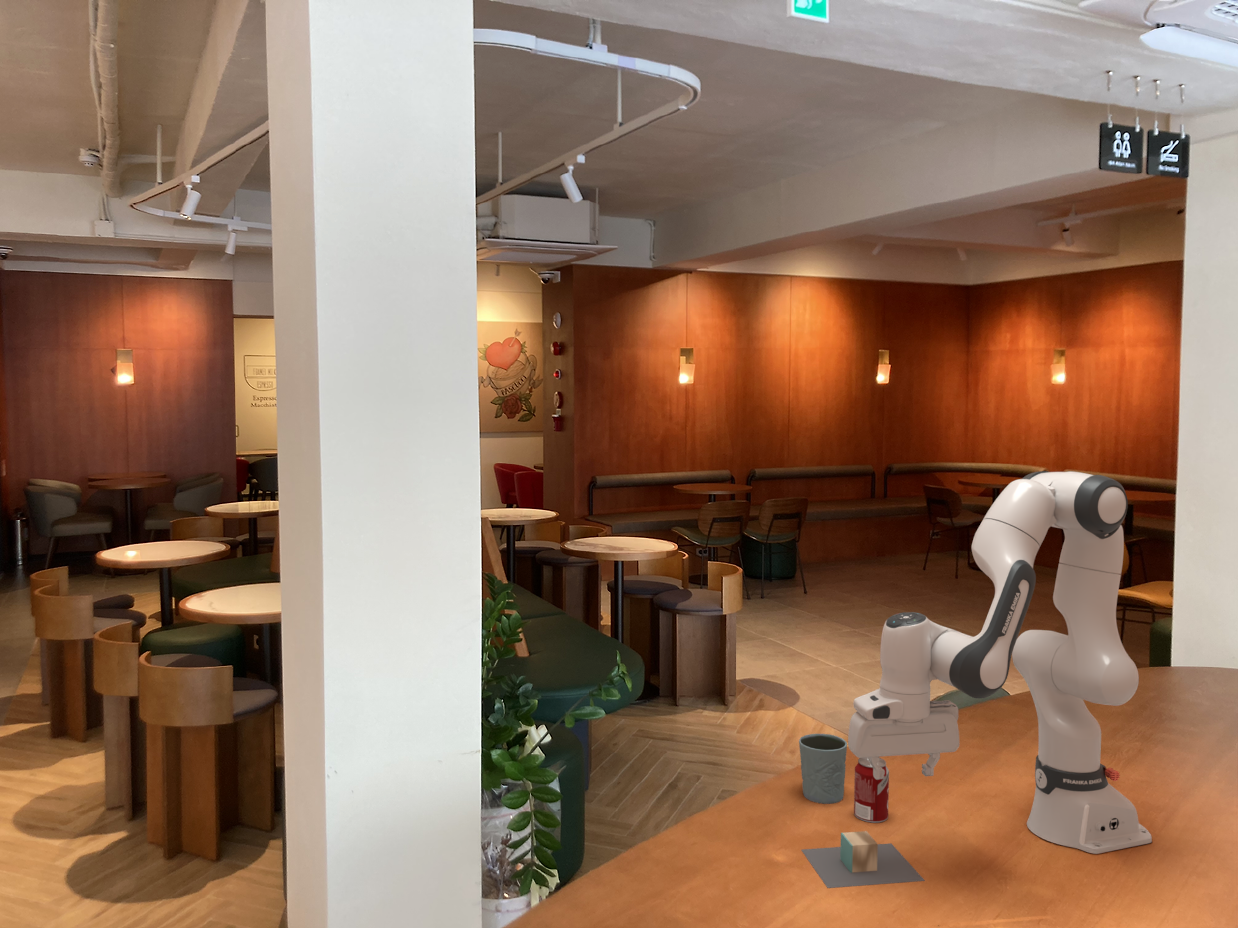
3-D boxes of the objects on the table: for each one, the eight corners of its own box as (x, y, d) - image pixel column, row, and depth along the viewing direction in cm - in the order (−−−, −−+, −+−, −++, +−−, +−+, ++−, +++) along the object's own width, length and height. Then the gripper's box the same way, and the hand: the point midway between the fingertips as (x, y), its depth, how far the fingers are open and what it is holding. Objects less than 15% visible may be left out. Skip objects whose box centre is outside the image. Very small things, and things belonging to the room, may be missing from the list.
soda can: (869, 828, 187) (871, 769, 187) (846, 814, 193) (848, 758, 193) (895, 821, 191) (896, 763, 190) (871, 808, 197) (873, 752, 196)
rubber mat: (891, 846, 180) (891, 843, 180) (925, 883, 166) (925, 880, 166) (800, 852, 177) (800, 849, 177) (827, 891, 164) (827, 887, 164)
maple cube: (866, 830, 174) (840, 832, 173) (877, 843, 169) (851, 845, 169) (866, 856, 175) (840, 858, 174) (877, 870, 170) (850, 872, 169)
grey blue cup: (846, 807, 197) (847, 751, 196) (797, 803, 199) (798, 747, 198) (845, 787, 207) (846, 734, 206) (798, 783, 209) (799, 731, 208)
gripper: (949, 694, 175) (948, 766, 176) (845, 699, 172) (844, 772, 173) (967, 705, 169) (965, 779, 170) (858, 711, 166) (857, 787, 167)
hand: (903, 776), depth 172 cm, fingers open, 8 cm apart
